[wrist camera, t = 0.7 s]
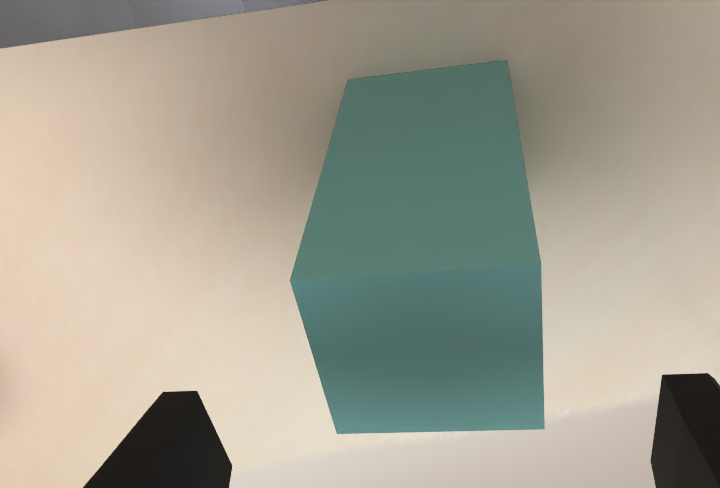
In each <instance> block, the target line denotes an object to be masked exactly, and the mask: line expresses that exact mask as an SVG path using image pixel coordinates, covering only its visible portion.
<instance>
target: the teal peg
mask: <svg viewBox="0 0 720 488" xmlns="http://www.w3.org/2000/svg"><path fill="white" fill-rule="evenodd" d="M290 282H291V285H292V289H293V292H294V295H295V298H296V302H297V305H298V308H299V311H300V315H301V318H302V321H303V324H304V328H305V331H306V334H307V338H308V341H309V344H310V347H311V351H312V354H313V357H314V360H315V364H316V367H317V370H318V374H319V377H320V380H321V383H322V387H323V390H324V393H325V396H326V400H327V403H328V406H329V409H330V413H331V416H332V419H333V423H334V426H335V429H336V432H337V434H351V433H395V432H440V431H484V430H529V429H544V387H543V339H542V291H541V261H540V255H539V249H538V243H537V237H536V231H535V226H534V220H533V214H532V208H531V202H530V196H529V190H528V184H527V178H526V172H525V166H524V160H523V155H522V149H521V143H520V137H519V131H518V125H517V119H516V113H515V107H514V101H513V95H512V89H511V84H510V78H509V72H508V66H507V60H504V61H495V62H487V63H479V64H471V65H463V66H455V67H447V68H439V69H431V70H422V71H414V72H406V73H398V74H390V75H382V76H374V77H366V78H358V79H350V80H348V82H347V86H346V89H345V92H344V96H343V99H342V103H341V106H340V110H339V113H338V117H337V120H336V124H335V127H334V130H333V134H332V137H331V141H330V144H329V148H328V151H327V155H326V158H325V162H324V165H323V168H322V172H321V175H320V179H319V182H318V186H317V189H316V193H315V196H314V199H313V203H312V206H311V210H310V213H309V217H308V220H307V224H306V227H305V231H304V234H303V237H302V241H301V244H300V248H299V251H298V255H297V258H296V262H295V265H294V269H293V272H292V275H291V279H290Z"/></svg>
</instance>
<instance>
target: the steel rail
mask: <svg viewBox="0 0 720 488" xmlns="http://www.w3.org/2000/svg"><path fill="white" fill-rule="evenodd" d="M320 1H327V0H0V48H7V47H14V46H20V45H27V44H34V43H41V42H48V41H54V40H61V39H68V38H75V37H82V36H89V35H95V34H102V33H109V32H116V31H123V30H129V29H136V28H143V27H150V26H157V25H163V24H170V23H177V22H184V21H191V20H198V19H204V18H211V17H218V16H225V15H232V14H238V13H245V12H252V11H259V10H266V9H272V8H279V7H286V6H293V5H300V4H306V3H313V2H320Z"/></svg>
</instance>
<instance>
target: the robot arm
mask: <svg viewBox="0 0 720 488" xmlns="http://www.w3.org/2000/svg"><path fill="white" fill-rule="evenodd" d="M651 464H652V470H653V475H654V480H655V485H656V488H720V386H719V384H718V383H717V381H716V380H715V379H714V378H713V377H712V376H710V375H709V374H708V373H703V374H673V375H662V380H661V387H660V395H659V403H658V410H657V418H656V425H655V433H654V440H653V448H652V455H651ZM231 471H232V464H231V462H230V460H229V458H228V456H227V454H226V452H225V449H224V447H223V445H222V443H221V441H220V439H219V437H218V435H217V432H216V430H215V428H214V426H213V424H212V422H211V420H210V418H209V415H208V413H207V411H206V409H205V407H204V405H203V403H202V400H201V398H200V396H199V394H198V392H197V391H179V392H163V393H162V394H161V395H160V396H159V397H158V399H157V400H156V401H155V402H154V403H153V404H152V406H151V407H150V408H149V409H148V410H147V411H146V413H145V414H144V415H143V416H142V417H141V419H140V420H139V421H138V422H137V424H136V425H135V426H134V427H133V428H132V430H131V431H130V432H129V433H128V434H127V436H126V437H125V438H124V439H123V440H122V442H121V443H120V444H119V445H118V447H117V448H116V449H115V450H114V451H113V453H112V454H111V455H110V456H109V457H108V459H107V460H106V461H105V462H104V463H103V465H102V466H101V467H100V468H99V469H98V471H97V472H96V473H95V474H94V475H93V476H92V478H91V479H90V480H89V481H88V482H87V483H86V485H85V486H84V487H83V488H229V482H230V477H231Z"/></svg>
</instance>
